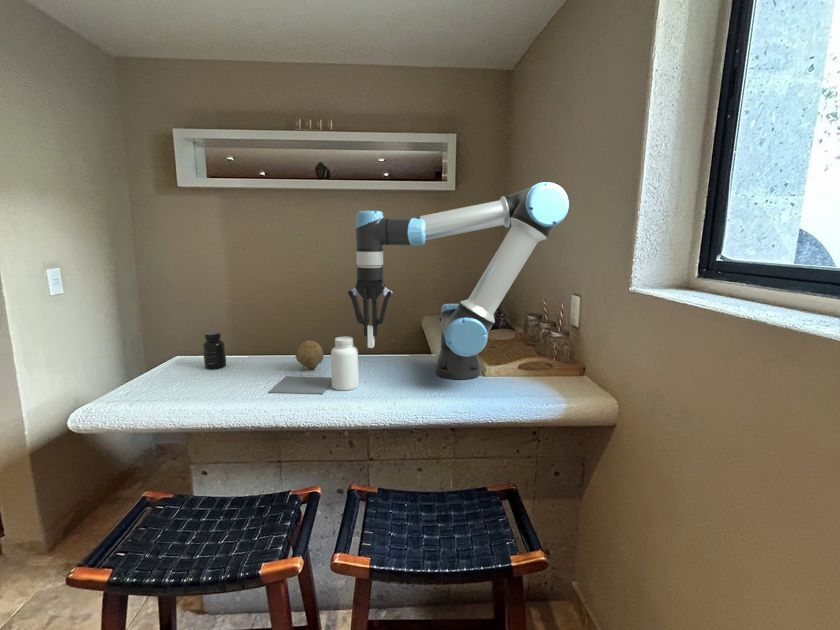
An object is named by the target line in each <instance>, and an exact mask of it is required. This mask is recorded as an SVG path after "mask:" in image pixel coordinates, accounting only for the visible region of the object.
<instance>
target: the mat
mask: <svg viewBox="0 0 840 630" xmlns="http://www.w3.org/2000/svg"><path fill="white" fill-rule="evenodd" d="M331 385H332V376H298V375H297V376H295V375H294V376H293V375H292V376H291V375H289V376H288V375H286V376H284V377H283V378H282V379H281V380H280V381H279V382H277V383H276V384H275V385H273V387H272V388H271V389H269V390H268V391H267V393H269V394H289V395H290V394H291V395H292V394H293V395H294V394H295V395H324V393H326V391H327V390H328V388H329V387H330V386H331Z"/></svg>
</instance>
